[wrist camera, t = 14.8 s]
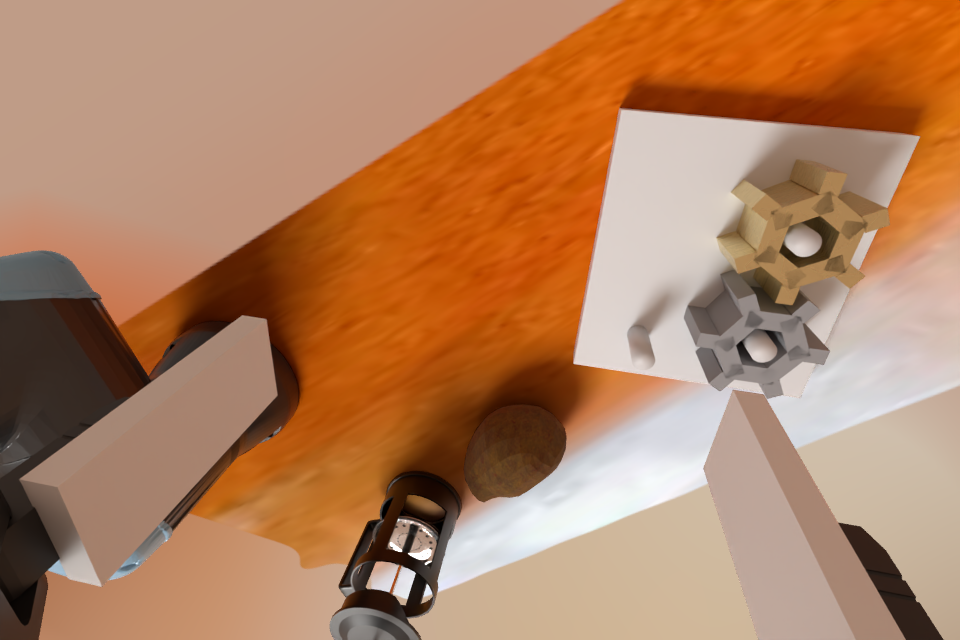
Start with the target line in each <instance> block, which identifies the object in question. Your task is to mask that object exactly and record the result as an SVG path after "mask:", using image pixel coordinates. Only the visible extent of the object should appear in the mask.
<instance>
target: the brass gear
mask: <svg viewBox="0 0 960 640" xmlns="http://www.w3.org/2000/svg"><path fill="white" fill-rule="evenodd" d="M847 175H848V174H847V173H844V172H841V171H839V170H836V169H834V168H831V167H828V166H826V165H823V164H820V163H818V162H815V161H809V160H800V159H796V161H795V164H794V167H793V169H792V172H791V175H790V178H789V179H790V180H787V181H785V182H782V183H779V184H776V185H774V186H771V187H768V188H766V189H763V190H759V189H758V188H756V187H755V186H753V185H752V184H750V183H748V182H747V181H745V180H744V179H743V180H742V181H741V182H740V183H739V184H738V185H737V186H736V187H735V188H734V189H733V190H732V191H731V193H732V194H733V195H735V196H736V197H737V198H738V199H739V200H741V201H742V202H743V203H744V204H745V206H744V209H743V212H742V215H741V218H740V221H739V224H738V227H737V230H736V231H734V232H731V233H728V234H725V235H722V236H719V237H716V239H717V242H718V246H719V249H720V252H721V253H722V254H723V255H724V257H725V258H726V259H727V260H728V262H729V263H730V264H731V265H732V267H733V268H734V269H735V270H736V272H737V273H738V274H739V273H743V272H746V271H749V270H752V269H755V268H756V270H755V273H754V276H753V278H754V279H755V280H756V281H757V282H758V284H759V285H760V286H761V287H762V288H763V289H764V291H765V292H766V293H767V294H768V295H769V296H770V298H771V299H772V300H773V301H774V302H775V303H779V304H787V305H793V303H794V301H795V299H796V296H797V294H798V292H799V289H800V286H804V285H807V284H810V283H814V282H817V281H820V280H824V279H827V278H830V277H833V276H834V277H835V278H837V279H838V280H839V281H840V282H842V283H843V284H844V285H845V286H847V287H848V288H849V289H850V288H851V287H852V286H854V285H855V284H856V283H857V282H859V281H860V280H861V279H863V278H864V277H865V275H864V274H862V273H861V272H860V271H859V270H858V269H856V268H855V267H854V266H853V265H851V264H850V262H851V260H852V258H853V256H854V254H855V251H856V249H857V247H858V245H859V243H860V241H861V238H862V236H863V234H864V233H867V232H870V231H873V230H877V229H880V228H883V227H886V226H889V225H890V221H889V215H888V208H886V207H884V206H882V205H879V204H877V203H875V202H873V201H870V200H868V199H866V198H864V197H861V196H859V195H857V194H855V193H852V192H850V191H848V192H845V193H842V194H840V191H841V189H842V187H843V184H844V182H845V179H846V177H847ZM839 194H840V195H839ZM803 221H805V225H806V226H808V227H809V228H811V229H812V230H814V231H815V232H817V233H818V234H819V235H820V236H821V238H822V244H821V247H820V249H819V250H818V251H817V252H816V253H815V254H813V255H811V256H808V257H800V256H797V255H795V254H794V253H793V252H792V251H791V250H789V249H788V248H787V247H786V246H785V245H783V244H782V243H783V241H784V238H785V236H786V233H787V230H788V228H789V226H791V225H794V224H797V223H800V222H803Z"/></svg>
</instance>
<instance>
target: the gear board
mask: <svg viewBox="0 0 960 640" xmlns="http://www.w3.org/2000/svg"><path fill="white" fill-rule="evenodd" d="M919 138H920V136H916V135H910V134H905V133H897V132H885V131H874V130H863V129H852V128H840V127H829V126H818V125H807V124H795V123H784V122H773V121H762V120H750V119H739V118H728V117H717V116H706V115H694V114H683V113H672V112H661V111H649V110H638V109H627V108H619V113H618V118H617V124H616V129H615V134H614V140H613V145H612V150H611V156H610V161H609V166H608V172H607V177H606V182H605V188H604V193H603V199H602V204H601V209H600V215H599V220H598V225H597V231H596V236H595V241H594V247H593V252H592V257H591V263H590V268H589V273H588V279H587V284H586V290H585V295H584V300H583V306H582V311H581V316H580V322H579V327H578V332H577V338H576V343H575V348H574V364H578V365H585V366H591V367H598V368H604V369H611V370H618V371H624V372H631V373H638V374H644V375H651V376H657V377H664V378H671V379H677V380H684V381H690V382H697V383H704V384H710V385H712V386H713V387H714V388H716V389H717V390H719V391H721V390H723V389H724V388H725V387H730V388H737V389H743V390H750V391H756V392H763V393H764V394H765V396H766V398H767V399H768V398H772V397H776V396H780V395H783V396H789V397H796V398H800V397H801V395H802V393H803V391H804V388H805V386H806V384H807V382H808V380H809V378H810V375H811V373H812V371H813V369H814V367H815V364H821V365H824V363H825V361H826V359H827V357H828V355H829V352H830V350H829V349H828V348H827V347H826V346H825V343H826V340H827V338H828V336H829V334H830V332H831V330H832V327H833V325H834V323H835V321H836V319H837V317H838V314H839V312H840V310H841V308H842V306H843V303H844V301H845V299H846V297H847V295H848V293H849V290H850V289H849V288H848V287H847V286H845V285H844V284H843V283H842V282H840V281H839V280H838V279H837V278H835V277H834V276H833V277H830V278H827V279H824V280H820V281H817V282H814V283H810V284H807V285H804V286H800V289H799V292H798V294H797V296H796V299H795V301H794V303H793V305H787V304H779V303H775V302H774V301H773V300H772V299H771V298H770V296H769V295H768V294H767V293H766V292H765V291H764V289H763V288H762V287H761V286H760V285H759V284H758V282H757V281H756V280H755V279H754V278H753V276H754V273H755V270H756V268H755V269H752V270H749V271H746V272H743V273H739V274H738V273H737V272H736V270H735V269H734V268H733V267H732V265H731V264H730V263H729V262H728V260H727V259H726V258H725V257H724V255H723V254H722V253H721V252H720V249H719V246H718V242H717V239H716V237H719V236H722V235H725V234H728V233H731V232H734V231H736V230H737V227H738V224H739V221H740V218H741V215H742V212H743V209H744V206H745V204H744V203H743V202H742V201H741V200H739V199H738V198H737V197H736V196H735V195H733V194H732V193H731V191H732V190H733V189H734V188H735V187H736V186H737V185H738V184H739V183H740V182H741V181H742V180H743V179H744V180H745V181H747V182H748V183H750V184H752V185H753V186H755V187H756V188H758V189H759V190H763V189H766V188H768V187H771V186H774V185H776V184H779V183H782V182H785V181H787V180H790V179H789V178H790V175H791V172H792V169H793V167H794V164H795V161H796V159H800V160H809V161H815V162H818V163H820V164H823V165H826V166H828V167H831V168H834V169H836V170H839V171H841V172H844V173H847V174H848V175H847V177H846V179H845V182H844V184H843V187H842V189H841V191H840V194H842V193H845V192H848V191H850V192H852V193H855V194H857V195H859V196H861V197H864V198H866V199H868V200H870V201H873V202H875V203H877V204H879V205H882V206H884V207H886V208H888V205H889V203H890V201H891V199H892V197H893V195H894V192H895V190H896V188H897V186H898V184H899V181H900V179H901V177H902V175H903V173H904V171H905V168H906V166H907V164H908V162H909V160H910V158H911V155H912V153H913V151H914V149H915V147H916V144H917V142H918V140H919ZM840 194H839V195H840ZM876 232H877V230H873V231H870V232H867V233H864V234H863V236H862V238H861V241H860V243H859V245H858V247H857V249H856V251H855V254H854V256H853V258H852V260H851V262H850V264H851V265H853V266H854V267H855V268H856V269H858V270H859V269H860V266H861V264H862V262H863V260H864V258H865V256H866V253H867V251H868V249H869V247H870V245H871V242H872V240H873V238H874V236H875V234H876ZM782 244H783V245H785V246H786V247H787V248H788V249H789V250H791V251H792V252H793V253H794V254H795V255H797V256H800V257H808V256H811V255H813V254H815V253H816V252H817V251H818V250H819V249H820V247H821V244H822V238H821V236H820V235H819V234H818V233H817V232H815V231H814V230H812V229H811V228H809V227H808V226H806V225H805V221H803V222H800V223H797V224H794V225H791V226H789V228H788V230H787V233H786V236H785V238H784V241H783V243H782Z"/></svg>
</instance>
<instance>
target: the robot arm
mask: <svg viewBox="0 0 960 640" xmlns="http://www.w3.org/2000/svg"><path fill="white" fill-rule="evenodd" d="M100 299H101V296H100V295H99V294H98V293H96V292H94V291H93V290H92V288H91V287H90V286H89V285H88V283H87V282H86V280H85V279H84V277H83V276H82V275H81V273H80V272H79V271H78V269H77V268H76V266H75V265H74V264H73V262H72V261H70V260H69V259H68V258H66V257H65V256H63V255H61V254H59V253H56V252H52V251H32V252H25V253H20V254H14V255H9V256H3V257H0V640H39V634H40V628H41V623H42V617H43V612H44V606H45V601H46V595H47V590H48V583H47V577H46V575H45V572H46V571H47V570H49V571H51V572H54V573H57V574H60V575H64V576H67V577H68V579H71V580H75V581H79V582H84V583H88V584H92V585H97V586H103V585H104V584H105V583H106V582H107V581H108V580H112V579H117V578H120V577H123V576H125V575H127V574H129V573H131V572H133V571H134V570H136V569H137V568H138V567H139V566H140V565H141V564H142V563H143V562H144V561H145V560H146V559H147V558H149V557H150V555H152V554H153V553H154V552H155V551H156V550H157V549H158V548H159V547H160V546H161V545H162V543H164V542H166V541H167V540H168V539H169V538H170V537H171V535H172V533H173V531H174V530H175V529H176V527H177V526H178V525H179V524H180V523H181V521H182V520H183V519H184V518H185V517H186V516H187V515H188V514H189V512H190V511H191V510H192V509H193V508H194V507H195V505H196V504H197V503H198V502H199V501H200V500H201V498H202V497H203V496H204V495H205V494H206V493H207V491H208V490H209V489H210V488H211V487H212V486H213V484H214V483H215V482H216V481H217V480H218V479H219V478H220V476H221V475H222V474H223V473H224V472H225V471H226V469H227V468H228V467H229V466H230V465H231V464H232V463H233V461H234V460H235V459H236V458H237V457H239V456H241V455H242V454H244V453H246V452H248V451H249V450H251V449H252V448H254V447H255V446H256V445H257V444H259V443H262V442H264V441H267V440H269V439H270V438H272V437H274V436H275V435H277V434H278V433H279V432H280V431H281V430H282V429H283V428H284V426H285V425H286V424H287V423H288V422H289V420H290V419H291V418H292V417H293V415H294V413H295V411H296V409H297V406H298V399H299V392H298V385H297V382H296V378H295V376H294V373H293V371H292V369H291V367H290V366H289V364H288V363H287V361H286V360H285V358H284V357H283V356H282V355H281V353H280V352H279V351H278V350H277V349H276V348H275V347H274V346H273V345H272V344H271V343H270V340H269V333H268V326H267V319H263V318H257V317H250V316H244V315H242V316H241V317H239V318H238V319H237V320H235V321H234V322H233V323H228V322H221V321H211V322H204V323H200V324H198V325H195V326H193V327H192V328H190V329H189V330H187V331H186V332H184V333H183V334H181V335H180V336H178V337H177V338H176V339H175V340H174V341H173V342H172V343H171V344H170V345H169V346H168V348H167V349H166V351H165V353H164V355H163V358H162V359H161V360H160V361H159V362H158V363H157V365H156V366H155V368H154V369H153V370H152V372H151V373H150V375H149V376H148V375H147V373H146V372H145V370H144V369H143V367H142V366H141V364H140V363H139V361H138V359H137V358H136V356H135V355H134V353H133V351H132V350H131V348H130V347H129V345H128V344H127V342H126V340H125V339H124V337H123V336H122V334H121V332H120V331H119V329H118V328H117V326H116V324H115V323H114V321H113V320H112V318H111V316H110V315H109V314H108V312H107V310H106V308H105V307H104V305H103V304H102V302H101V300H100ZM703 469H704V472H705V475H706V478H707V481H708V484H709V487H710V491H711V494H712V497H713V500H714V503H715V506H716V509H717V512H718V515H719V519H720V521H721V525H722V528H723V531H724V534H725V537H726V540H727V543H728V547H729V550H730V553H731V556H732V559H733V562H734V565H735V568H736V572H737V575H738V578H739V581H740V584H741V587H742V590H743V593H744V596H745V600H746V603H747V606H748V609H749V612H750V615H751V618H752V621H753V625H754V628H755V631H756V634H757V637H758V640H943V638H942V637H941V635H940V634H939V632H938V631H937V629H936V627H935V626H934V624H933V623H932V621H931V620H930V618H929V617H928V616H927V613H926V612H925V610H924V609H923V607H922V606H921V604H920V603H919V602H916V600H915V598H916V596H915V595H914V593H913V592H912V590H911V589H910V587H909V586H908V584H907V583H906V581H903V580H902V575H901V573H900V572H899V570H898V569H897V567H896V565H895V564H894V563H893V561H892V559H891V558H890V556H889V555H888V553H887V552H886V550H885V549H884V548H883V547H881V545H879V543H877V542H876V541H875V540H874V539H873V538H872V537H871V536H870V535H869V534H868V533H867V532H866V531H865V530H864V529H863V528H861V527H860V526H854V525H849V524H843V523H838V522H837V520H836V518H835V517H834V515H833V513H832V512H831V510H830V508H829V506H828V505H827V503H826V501H825V499H824V498H823V496H822V494H821V493H820V491H819V489H818V487H817V486H816V484H815V482H814V481H813V479H812V477H811V475H810V474H809V472H808V470H807V468H806V467H805V465H804V463H803V461H802V460H801V458H800V456H799V455H798V453H797V451H796V449H795V448H794V446H793V444H792V443H791V441H790V439H789V437H788V436H787V434H786V432H785V430H784V429H783V427H782V425H781V424H780V422H779V420H778V418H777V417H776V415H775V413H774V411H773V410H772V408H771V406H770V405H769V403H768V401H767V399H766V398H765V396H764V394H757V393H751V392H744V391H737V390H733V391H732V394H731V396H730V399H729V402H728V404H727V407H726V410H725V412H724V415H723V417H722V420H721V423H720V425H719V428H718V431H717V433H716V436H715V439H714V441H713V444H712V447H711V449H710V452H709V455H708V457H707V460H706V462H705V465H704V468H703Z"/></svg>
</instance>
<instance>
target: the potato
mask: <svg viewBox="0 0 960 640" xmlns="http://www.w3.org/2000/svg"><path fill="white" fill-rule="evenodd" d="M565 449H566V432H565V428H564V427H563V425H562V424H561V423H560V422H559V421H558V420H557V419H556V417H555V416H554V415H553V414H552V413H550V412H549V411H547V410H545V409H543V408H541V407H539V406H533V405H525V404H523V405H509V406H505V407H501V408H499V409H497V410H495V411H494V412H492V413H491V414H489V415H488V416H487V417H486V418H485V419H484V420H483V422H482V423H481V424H480V426H479V427H478V428H477V430H476V431H475V433H474V435H473V437H472V439H471V441H470V443H469V446H468V448H467V453H466V457H465V464H464V474H465V480H466V482H467V484H468V486H469V488H470V490H471V492H472V494H473V495H474V496H475V497H476V498H477V499H478V500H479V501H482V502H486V501H488V500H490V499H492V498H496V497H509V498H510V497H516V496H520V495H522V494H523V493H525V492H527V491H528V490H530V489H531V488H533V487H534V486H535V485H537V484H538V483H540V482H541V481H542V480H544V479H545V478H546V477H548V476H549V475H550V474H551V473H552V472H553V471H554V470H555V469H556V468H557V466H558V465H559V463H560V462H561V460H562V457H563V455H564V452H565Z"/></svg>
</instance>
